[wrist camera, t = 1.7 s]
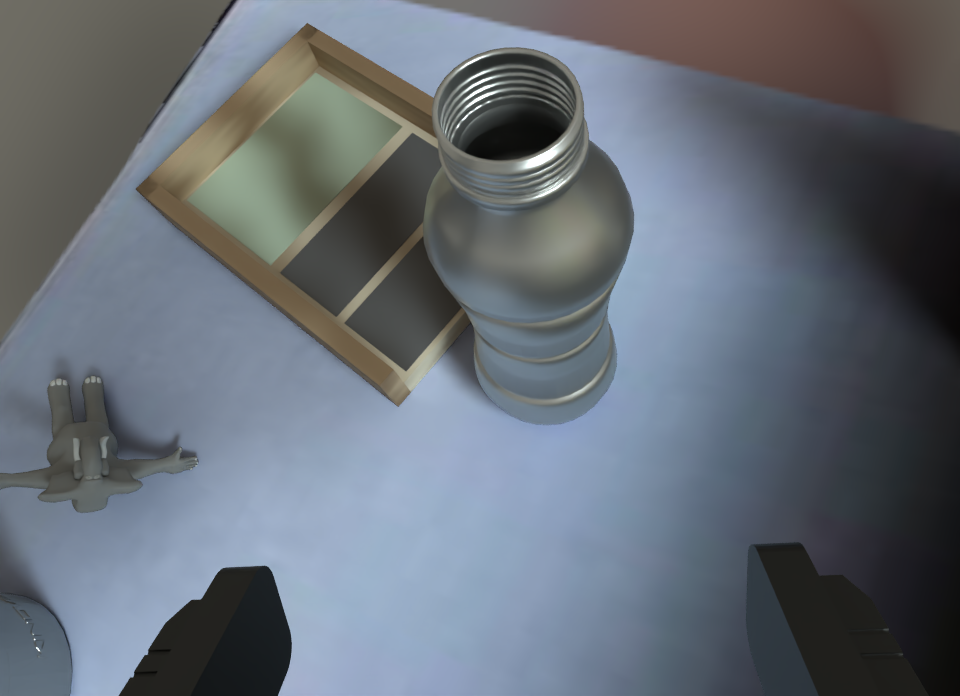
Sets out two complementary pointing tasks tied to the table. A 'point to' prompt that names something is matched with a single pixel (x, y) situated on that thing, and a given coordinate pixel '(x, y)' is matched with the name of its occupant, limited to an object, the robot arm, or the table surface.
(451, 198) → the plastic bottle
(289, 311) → the box
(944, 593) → the table surface
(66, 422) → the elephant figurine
